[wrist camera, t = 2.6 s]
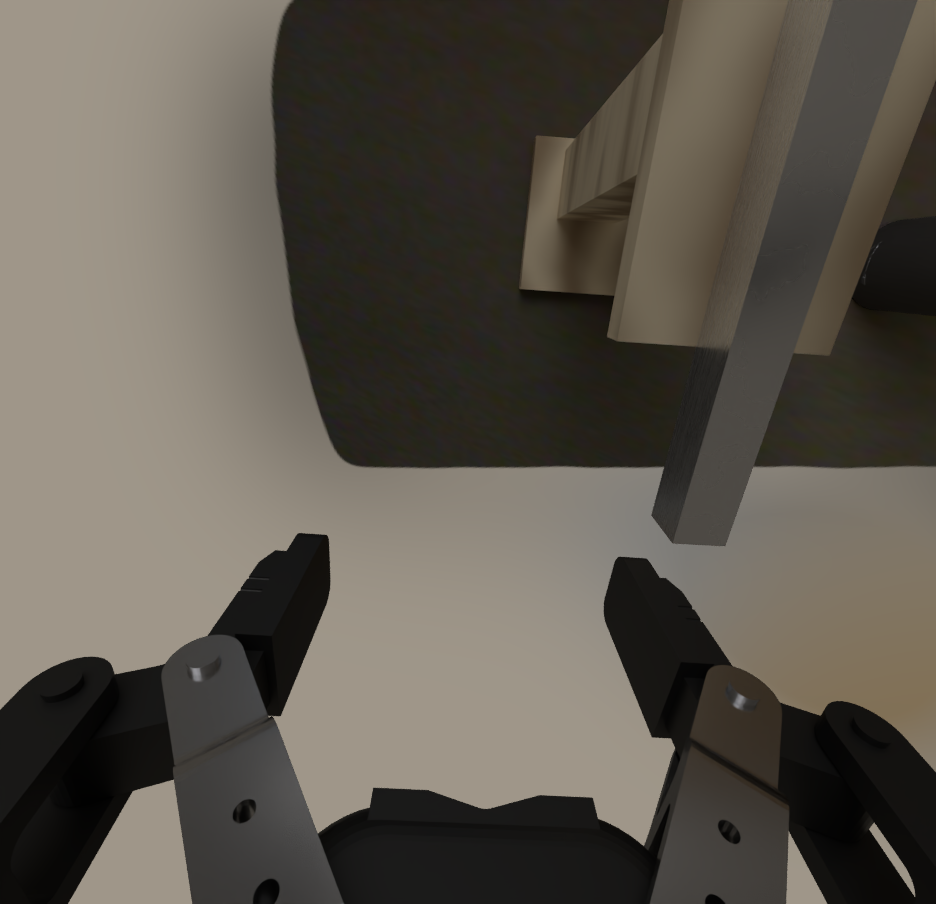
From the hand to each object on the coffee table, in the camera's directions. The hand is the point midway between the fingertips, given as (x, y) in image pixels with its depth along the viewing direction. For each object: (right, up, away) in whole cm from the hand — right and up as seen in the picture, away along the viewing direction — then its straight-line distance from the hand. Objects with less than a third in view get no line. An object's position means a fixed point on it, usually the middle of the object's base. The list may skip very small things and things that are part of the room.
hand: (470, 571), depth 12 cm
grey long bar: (+12, +10, +7) cm, 17 cm away
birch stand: (+12, +28, +34) cm, 46 cm away
